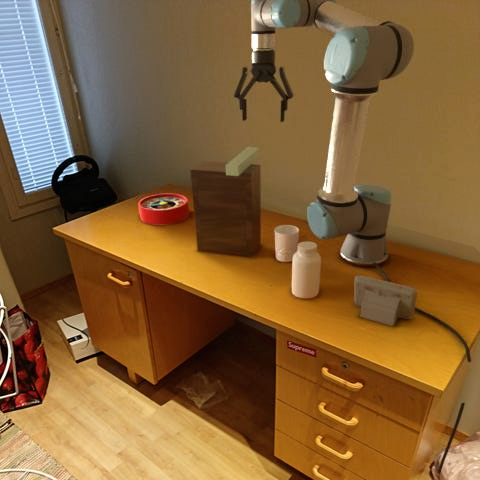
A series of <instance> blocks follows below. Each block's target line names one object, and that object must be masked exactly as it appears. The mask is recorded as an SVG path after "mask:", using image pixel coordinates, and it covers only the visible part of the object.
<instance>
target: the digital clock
mask: <svg viewBox="0 0 480 480" xmlns="http://www.w3.org/2000/svg"><path fill="white" fill-rule="evenodd" d="M353 291H354V293H353V295H354V298H353V299H354V304H355V305H356V306H357V307H360V314H359V315H360V316H359V317H360V318H363V319H365V320H370V321H373V322H376V323H380V324H384V325H388V326H391V327H394V326H395V324H396V322H397V320H398V318H401V319H404V320H411V319H412V318H413V317H414V315H415V311H416V310H415V307H416V303H417V297H418V291H417V290H416V288H414V287H412V286H408V285H403V284H399V283H395V282H390V281H389V282H387V281H386V280H382V279H378V278H374V277H370V276H365V275H361V274H360V275H356V276H354V280H353Z"/></svg>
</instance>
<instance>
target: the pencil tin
mask: <svg viewBox="0 0 480 480" xmlns="http://www.w3.org/2000/svg"><path fill="white" fill-rule="evenodd" d="M259 158H260V147H254V146H247V147H245V149H244V150H242V151H241V152H240V153H238V155H237V154H236V156H235V157H234V158H232V159H231V160H230V161H229V162H227V163H228V164H226V175H231V176H239V175H240V174H241V173H242V172H244V171H245V170H246V169H247V168H248V167H249V166H250V165H251V164H253V163H255V162H256V161H257V160H258V159H259Z"/></svg>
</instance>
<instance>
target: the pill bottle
mask: <svg viewBox="0 0 480 480" xmlns="http://www.w3.org/2000/svg"><path fill="white" fill-rule="evenodd" d="M291 263H292V264H291V265H292V266H291V293H292V295H293V296H294V297H296V298H299V299H313V298H315V297H317V296H318V295H319V293H320V283H321V269H322V256H321V255H320V254H319V253H318V244H317V243H316V242H314V241H308V240H307V241H301V242H298V246H297V251H296V253H295V254H294V256H293V259H292V261H291Z"/></svg>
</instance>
